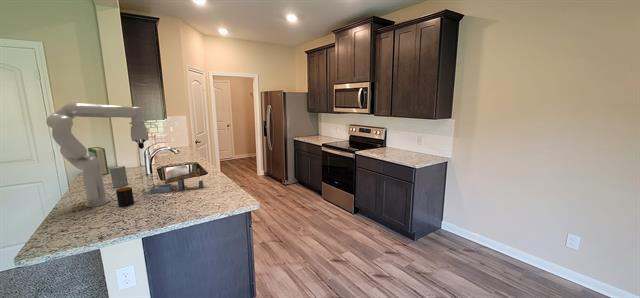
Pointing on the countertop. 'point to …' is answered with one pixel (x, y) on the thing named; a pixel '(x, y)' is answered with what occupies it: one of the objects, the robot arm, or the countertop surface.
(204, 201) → the countertop surface
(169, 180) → the brown flat board
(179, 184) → the fulcrum
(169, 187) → the dish
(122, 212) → the countertop surface
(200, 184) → the rest block
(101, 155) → the hardback book
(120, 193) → the mug
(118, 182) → the skincare box
